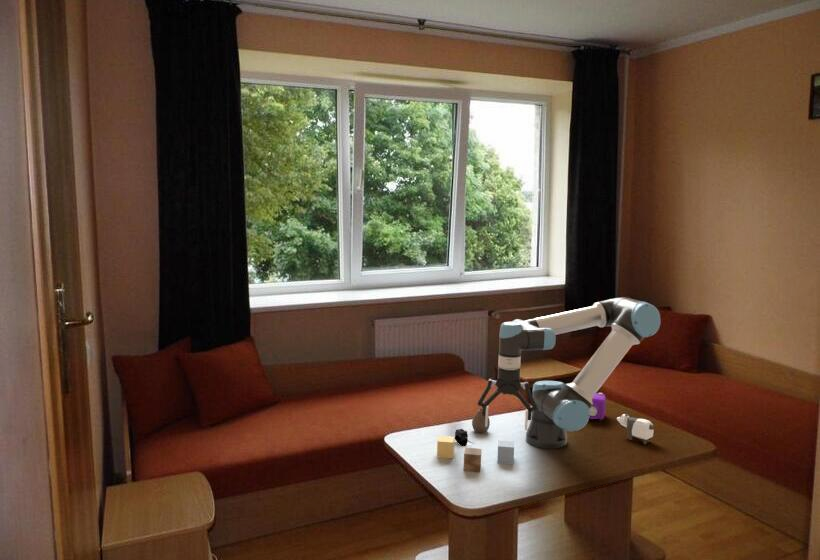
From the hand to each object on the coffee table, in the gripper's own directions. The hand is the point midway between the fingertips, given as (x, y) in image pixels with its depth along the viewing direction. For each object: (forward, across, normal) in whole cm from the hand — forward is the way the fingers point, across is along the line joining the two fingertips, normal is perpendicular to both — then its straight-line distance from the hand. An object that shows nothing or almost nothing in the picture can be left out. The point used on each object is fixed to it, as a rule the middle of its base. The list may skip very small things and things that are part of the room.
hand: (506, 427), depth 214 cm
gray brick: (+12, 0, 0) cm, 12 cm away
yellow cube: (+12, -21, 0) cm, 24 cm away
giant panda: (+12, +49, +30) cm, 59 cm away
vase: (+12, -10, +26) cm, 30 cm away
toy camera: (+12, +36, +52) cm, 65 cm away
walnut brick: (+12, -11, -9) cm, 18 cm away
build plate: (+13, -16, +14) cm, 25 cm away
